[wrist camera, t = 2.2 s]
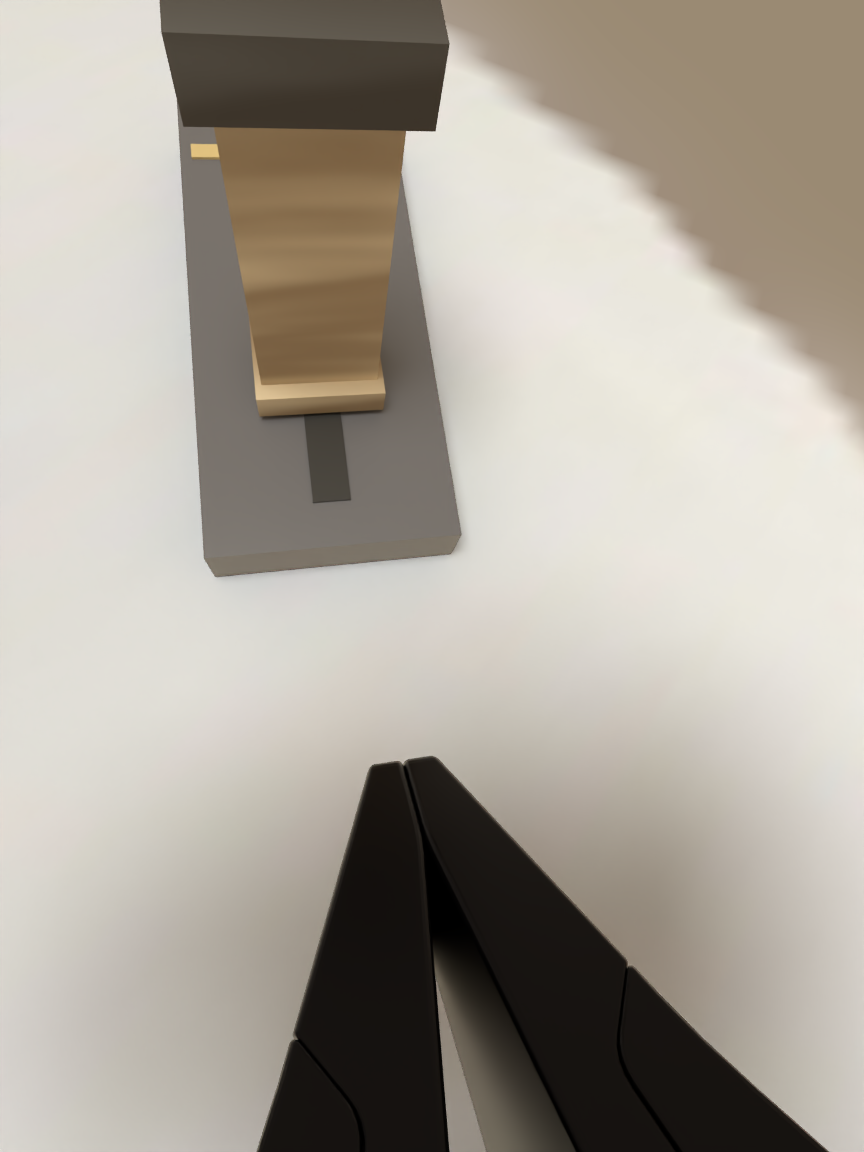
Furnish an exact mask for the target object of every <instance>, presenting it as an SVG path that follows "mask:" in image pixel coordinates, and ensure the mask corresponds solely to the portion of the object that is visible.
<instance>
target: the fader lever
mask: <svg viewBox="0 0 864 1152" xmlns="http://www.w3.org/2000/svg"><path fill="white" fill-rule="evenodd" d="M160 14H161V32H162V37H163V41H164V45H165V49H166V54H167V58H168V62H169V67H170V71H171V75H172V80H173V84H174V88H175V93H176V97H177V101H178V106H179V110H180V114H181V119H182V123H183V127H214V131H215V136H216V142H217V147H218V152H219V158H220V163H221V169H222V174H223V180H224V185H225V190H226V196H227V201H228V207H229V212H230V218H231V223H232V228H233V234H234V239H235V245H236V250H237V255H238V261H239V266H240V272H241V277H242V283H243V288H244V293H245V299H246V304H247V310H248V315H249V324H250V336H251V347H252V359H253V371H254V382H255V394H256V402H257V407H258V412H259V417H261V416H279V415H297V414H314V413H332V412H349V411H367V410H383V408H384V401H385V394H386V393H385V386H384V379H383V372H382V365H381V358H380V353H381V344H382V335H383V326H384V318H385V309H386V300H387V292H388V283H389V274H390V266H391V257H392V248H393V240H394V231H395V222H396V213H397V205H398V196H399V187H400V179H401V170H402V161H403V153H404V144H405V135H406V131H435V130H436V124H437V118H438V112H439V106H440V99H441V93H442V87H443V81H444V75H445V68H446V62H447V56H448V50H449V40H448V35H447V30H446V25H445V20H444V15H443V10H442V5H441V0H160Z"/></svg>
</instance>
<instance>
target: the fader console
mask: <svg viewBox="0 0 864 1152" xmlns="http://www.w3.org/2000/svg"><path fill="white" fill-rule="evenodd" d="M177 109H178V126H179V143H180V159H181V176H182V193H183V210H184V227H185V244H186V261H187V278H188V295H189V312H190V329H191V346H192V363H193V379H194V396H195V413H196V430H197V447H198V464H199V481H200V498H201V515H202V532H203V549H204V559H205V561H206V562H207V564H208V566H209V567H210V569H211V571H212V572H213V574H214V576H215V577H219V576H229V575H239V574H249V573H260V572H270V571H280V570H291V569H301V568H311V567H321V566H332V565H342V564H352V563H362V562H373V561H383V560H393V559H404V558H414V557H424V556H434V555H445V554H451V553H452V551H453V549H454V547H455V546H456V544H457V542H458V540H459V538H460V536H461V529H460V523H459V517H458V511H457V505H456V499H455V493H454V487H453V481H452V475H451V469H450V463H449V457H448V451H447V445H446V439H445V433H444V427H443V421H442V415H441V409H440V403H439V397H438V391H437V385H436V379H435V373H434V367H433V361H432V355H431V349H430V343H429V337H428V331H427V325H426V319H425V313H424V307H423V301H422V295H421V289H420V283H419V277H418V271H417V265H416V258H415V252H414V246H413V240H412V234H411V228H410V222H409V216H408V210H407V204H406V198H405V192H404V186H403V180H402V174H401V179H400V187H399V196H398V205H397V213H396V222H395V231H394V240H393V248H392V257H391V266H390V274H389V283H388V292H387V300H386V309H385V318H384V326H383V335H382V344H381V353H380V358H381V365H382V372H383V379H384V386H385V393H386V394H385V401H384V408H383V410H367V411H349V412H332V413H314V414H297V415H279V416H261V417H259V412H258V407H257V402H256V394H255V382H254V371H253V359H252V347H251V336H250V324H249V315H248V310H247V304H246V299H245V293H244V288H243V283H242V277H241V272H240V266H239V261H238V255H237V250H236V245H235V239H234V234H233V228H232V223H231V218H230V212H229V207H228V201H227V196H226V190H225V185H224V180H223V174H222V169H221V163H220V158H219V152H218V147H217V142H216V136H215V131H214V127H183V123H182V119H181V114H180V110H179V106H178V101H177Z"/></svg>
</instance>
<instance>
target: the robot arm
mask: <svg viewBox="0 0 864 1152" xmlns="http://www.w3.org/2000/svg"><path fill="white" fill-rule="evenodd" d="M435 976H436V979H437V982H438V986H439V989H440V993H441V996H442V1000H443V1003H444V1007H445V1010H446V1014H447V1017H448V1020H449V1024H450V1027H451V1031H452V1034H453V1038H454V1041H455V1045H456V1048H457V1051H458V1055H459V1058H460V1062H461V1065H462V1069H463V1072H464V1076H465V1079H466V1083H467V1086H468V1089H469V1093H470V1096H471V1100H472V1103H473V1107H474V1110H475V1114H476V1117H477V1121H478V1124H479V1127H480V1131H481V1134H482V1138H483V1141H484V1145H485V1148H486V1152H829V1151H828V1150H827V1149H825V1148H824V1147H823V1146H822V1145H821V1144H820V1143H819V1142H817V1141H816V1140H815V1139H814V1138H813V1137H812V1136H811V1135H810V1134H808V1133H807V1132H806V1131H805V1130H804V1129H803V1128H802V1127H801V1126H799V1125H798V1124H797V1123H796V1122H795V1121H794V1120H793V1119H792V1118H790V1117H789V1116H788V1115H787V1114H786V1113H785V1112H784V1111H782V1110H781V1109H780V1108H779V1107H778V1106H777V1105H776V1104H775V1103H773V1102H772V1101H771V1100H770V1099H769V1098H768V1097H767V1096H766V1095H764V1094H763V1093H762V1092H761V1091H760V1090H759V1089H758V1088H757V1087H755V1086H754V1085H753V1084H752V1083H751V1082H750V1081H749V1080H748V1079H747V1078H746V1077H745V1076H743V1075H742V1074H741V1073H740V1072H739V1071H738V1070H737V1069H736V1068H735V1067H734V1066H733V1065H732V1064H730V1063H729V1062H728V1061H727V1060H726V1059H725V1058H724V1057H723V1056H722V1055H721V1054H720V1053H718V1052H717V1051H716V1050H715V1049H714V1048H713V1047H712V1046H711V1045H710V1044H709V1043H708V1042H706V1041H705V1040H704V1039H703V1038H702V1037H701V1036H700V1035H699V1034H698V1033H697V1032H696V1031H695V1030H694V1029H693V1028H692V1027H691V1026H690V1024H689V1023H688V1022H687V1021H686V1020H685V1019H684V1018H683V1017H682V1016H681V1015H680V1014H679V1013H678V1012H677V1011H676V1010H675V1009H674V1008H673V1007H672V1006H671V1005H670V1004H669V1003H668V1002H667V1001H666V1000H665V999H664V998H663V997H662V996H661V995H660V994H659V993H658V992H657V991H656V990H655V989H654V988H653V987H652V985H651V984H650V983H649V982H648V981H647V980H646V979H645V978H644V977H643V976H642V975H641V974H640V973H639V972H638V970H637V969H636V968H635V967H634V966H628V968H627V960H626V958H625V957H624V956H623V955H622V954H621V953H620V952H619V951H618V950H617V949H616V947H615V946H614V945H613V944H612V943H611V942H610V941H609V940H608V939H607V938H606V937H605V936H604V935H603V934H602V933H601V931H600V930H599V929H598V928H597V927H596V926H595V925H594V924H593V923H592V922H591V921H590V920H589V919H588V918H587V917H586V916H585V914H584V913H583V912H582V911H581V910H580V909H579V908H578V907H577V906H576V905H575V904H574V903H573V902H572V901H571V900H570V899H569V897H568V896H567V895H566V894H565V893H564V892H563V891H562V890H561V889H560V888H559V887H558V886H557V885H556V884H555V883H554V881H553V880H552V879H551V878H550V877H549V876H548V875H547V874H546V873H545V872H544V871H543V870H542V869H541V868H540V867H539V866H538V864H537V863H536V862H535V861H534V860H533V859H532V858H531V857H530V856H529V855H528V854H527V853H526V852H525V851H524V850H523V848H522V847H521V846H520V845H519V844H518V843H517V842H516V841H515V840H514V839H513V838H512V837H511V836H510V835H509V834H508V833H507V831H506V830H505V829H504V828H503V827H502V826H501V825H500V824H499V823H498V822H497V821H496V820H495V819H494V818H493V817H492V816H491V814H490V813H489V812H488V811H487V810H486V809H485V808H484V807H483V806H482V805H481V804H480V803H479V802H478V801H477V800H476V798H475V797H474V796H473V795H472V794H471V793H470V792H469V791H468V790H467V789H466V788H465V787H464V786H463V785H462V784H461V783H460V781H459V780H458V779H457V778H456V777H455V776H454V775H453V774H452V773H451V772H450V771H449V770H448V769H447V768H446V767H445V765H444V764H443V763H442V762H441V761H440V760H439V759H438V758H436V757H434V756H427V757H421V758H414V759H408V760H406V761H405V762H404V764H402V763H401V762H399V761H394V762H387V763H381V764H374V765H372V766H371V767H370V768H369V770H368V773H367V777H366V780H365V784H364V787H363V791H362V794H361V798H360V801H359V805H358V808H357V812H356V815H355V819H354V822H353V826H352V829H351V833H350V836H349V840H348V843H347V847H346V850H345V854H344V857H343V861H342V864H341V868H340V871H339V875H338V878H337V882H336V885H335V889H334V892H333V896H332V899H331V903H330V906H329V910H328V913H327V917H326V920H325V923H324V927H323V930H322V934H321V937H320V941H319V944H318V948H317V951H316V955H315V958H314V962H313V965H312V969H311V972H310V976H309V979H308V983H307V986H306V990H305V993H304V997H303V1000H302V1004H301V1007H300V1011H299V1014H298V1018H297V1021H296V1025H295V1028H294V1032H293V1037H294V1040H292V1041H291V1042H290V1044H289V1048H288V1051H287V1055H286V1058H285V1062H284V1065H283V1068H282V1072H281V1075H280V1079H279V1082H278V1086H277V1089H276V1092H275V1095H274V1098H273V1101H272V1105H271V1108H270V1111H269V1114H268V1117H267V1120H266V1123H265V1127H264V1130H263V1133H262V1136H261V1139H260V1142H259V1146H258V1149H257V1152H449V1141H448V1129H447V1116H446V1104H445V1091H444V1079H443V1066H442V1054H441V1041H440V1029H439V1016H438V1004H437V991H436V979H435Z"/></svg>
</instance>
